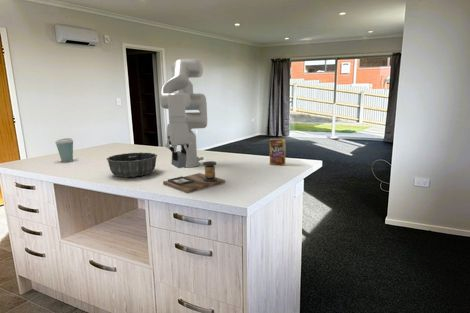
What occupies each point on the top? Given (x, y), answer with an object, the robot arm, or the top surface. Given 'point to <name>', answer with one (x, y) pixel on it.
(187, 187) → the winding board
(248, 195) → the top surface
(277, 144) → the candy box
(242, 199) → the top surface
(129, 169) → the bundt pan
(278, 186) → the top surface
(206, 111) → the robot arm
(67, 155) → the disposable coffee cup
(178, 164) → the gray rectangular block
